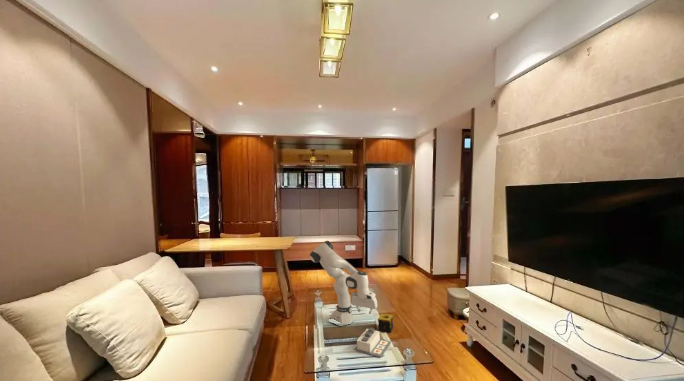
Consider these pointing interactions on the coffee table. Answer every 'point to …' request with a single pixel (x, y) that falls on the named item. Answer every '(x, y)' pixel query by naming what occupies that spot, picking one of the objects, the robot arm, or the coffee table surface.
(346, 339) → the coffee table surface
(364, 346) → the switch unit
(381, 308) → the coffee table surface
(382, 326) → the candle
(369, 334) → the switch
